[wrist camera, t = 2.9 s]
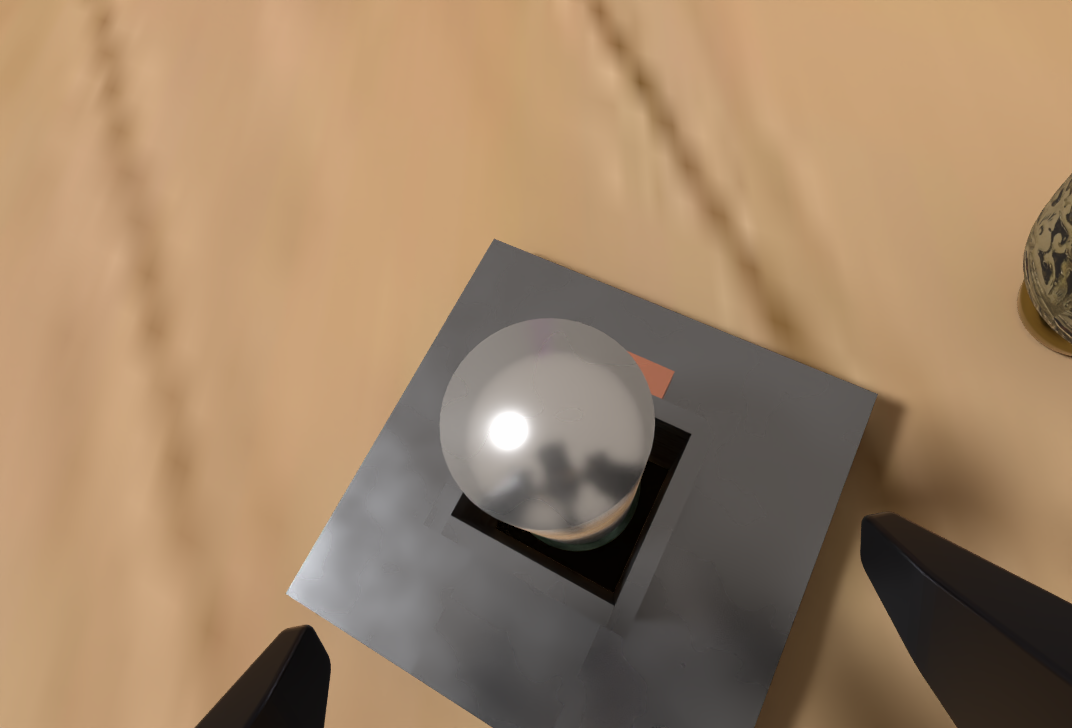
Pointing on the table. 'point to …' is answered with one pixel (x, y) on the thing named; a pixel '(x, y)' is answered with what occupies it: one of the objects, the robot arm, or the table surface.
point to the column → (550, 431)
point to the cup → (1049, 274)
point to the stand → (657, 558)
